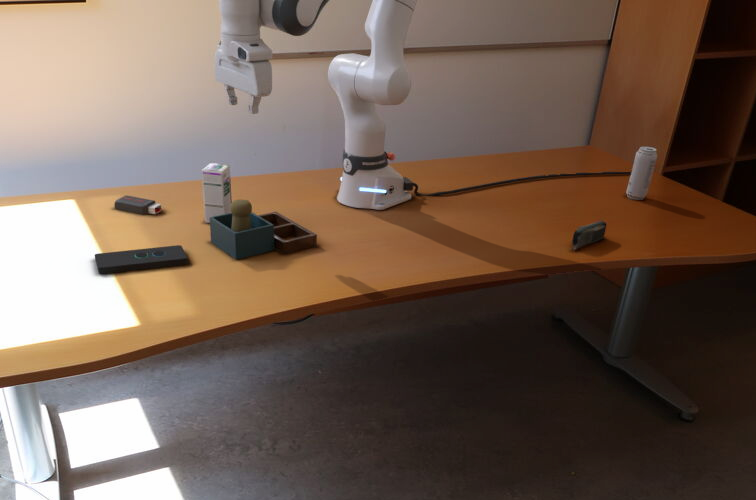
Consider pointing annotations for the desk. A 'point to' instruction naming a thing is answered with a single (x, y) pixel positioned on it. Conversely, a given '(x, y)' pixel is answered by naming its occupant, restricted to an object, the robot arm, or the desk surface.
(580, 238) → the mobile phone
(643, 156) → the energy drink can
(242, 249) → the bin
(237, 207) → the olive pepper mill
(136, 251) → the smart home device
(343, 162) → the robot arm
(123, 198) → the usb drive
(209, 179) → the syrup box
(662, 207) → the desk surface
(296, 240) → the holder
